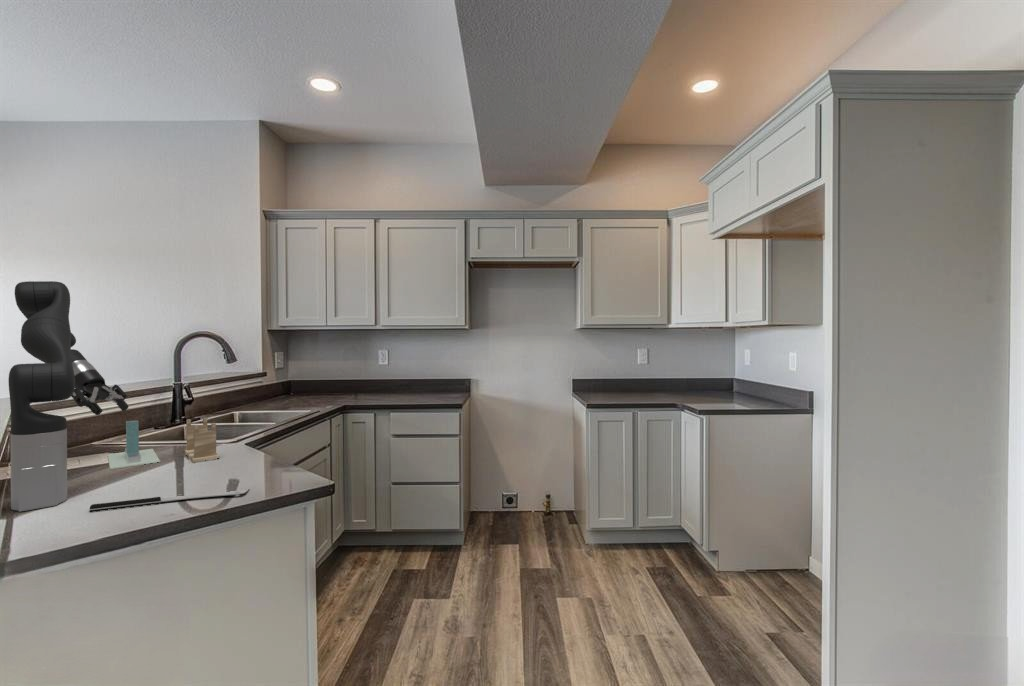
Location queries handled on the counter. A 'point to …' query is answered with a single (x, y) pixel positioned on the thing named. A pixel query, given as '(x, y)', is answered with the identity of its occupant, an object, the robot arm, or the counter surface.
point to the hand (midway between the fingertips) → (113, 411)
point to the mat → (121, 462)
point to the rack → (200, 441)
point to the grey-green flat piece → (132, 442)
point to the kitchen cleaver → (155, 500)
